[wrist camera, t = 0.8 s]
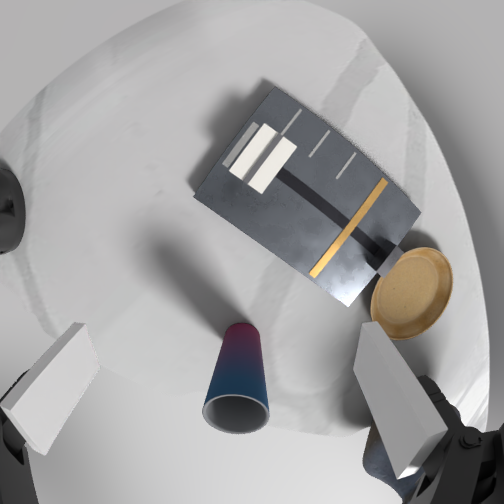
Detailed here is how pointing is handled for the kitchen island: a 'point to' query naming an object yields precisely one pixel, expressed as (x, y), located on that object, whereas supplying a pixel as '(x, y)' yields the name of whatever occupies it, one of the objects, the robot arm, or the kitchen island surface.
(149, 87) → the kitchen island surface
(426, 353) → the kitchen island surface
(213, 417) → the cup
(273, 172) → the fader
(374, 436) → the pitcher
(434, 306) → the plant saucer
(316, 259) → the console
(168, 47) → the kitchen island surface
